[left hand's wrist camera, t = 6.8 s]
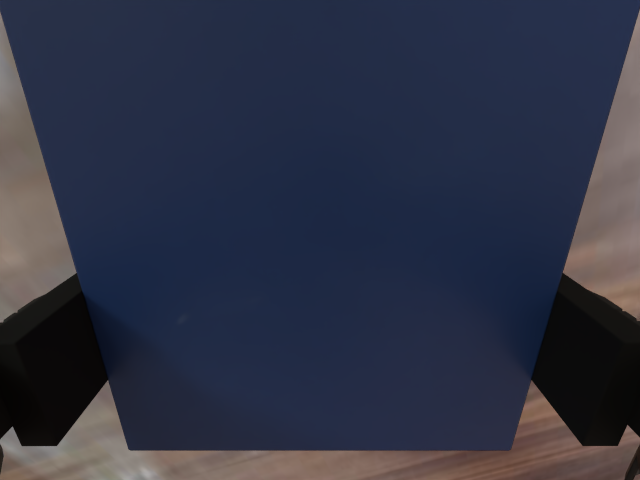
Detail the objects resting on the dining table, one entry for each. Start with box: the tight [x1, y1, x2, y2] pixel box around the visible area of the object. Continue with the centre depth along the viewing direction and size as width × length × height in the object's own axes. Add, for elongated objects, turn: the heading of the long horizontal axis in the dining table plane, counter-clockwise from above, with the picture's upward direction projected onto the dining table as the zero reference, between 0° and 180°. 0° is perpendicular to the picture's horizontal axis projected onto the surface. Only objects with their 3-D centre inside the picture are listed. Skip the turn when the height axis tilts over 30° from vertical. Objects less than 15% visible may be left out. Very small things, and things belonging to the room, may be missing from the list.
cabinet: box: [0, 0, 640, 450], centre depth 12 cm, size 15×11×11 cm
